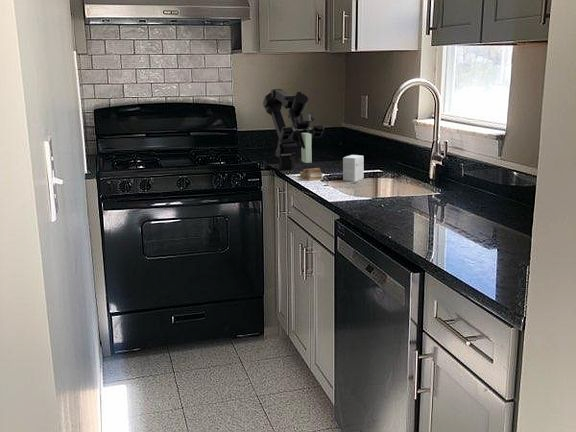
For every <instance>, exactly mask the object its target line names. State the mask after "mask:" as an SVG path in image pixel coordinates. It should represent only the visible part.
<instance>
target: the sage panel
mask: <svg viewBox="0 0 576 432" xmlns="http://www.w3.org/2000/svg"><path fill="white" fill-rule="evenodd" d="M301 137H302V140H303V142H304V145H305V149H303V148H302V147H301V146H300V148H301V149H300V151H301V152H300V153H301V162H302V163H305V164H309V163H310V164H312V162H313V161H312V160H313V159H312V157H313V156H312V144H313V143H312V142H313V140H312V141H311V134H310V133H301Z"/></svg>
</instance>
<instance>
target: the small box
mask: <svg viewBox="0 0 576 432" xmlns="http://www.w3.org/2000/svg"><path fill="white" fill-rule="evenodd" d="M364 160H365V159H364V155H359V154H350V155H346V156H344V157H342V179H343V181H346V182H347V181H349V182H352V184H356V183H358V181H360V180H362V179H364V176H365V175H364V171H365V170H364V166H365V165H364ZM356 181H357V182H356Z"/></svg>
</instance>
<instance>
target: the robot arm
mask: <svg viewBox="0 0 576 432" xmlns="http://www.w3.org/2000/svg"><path fill="white" fill-rule="evenodd" d="M308 101H309V97H308V96H307V95H306V94H305V93H302V91H296V93H295V94H289V93H288V92H286V91H284V90H283V88H282V89H281V88H275V89H271V90H270V92H269V93H268V94H267V95H265V96H264V98H263V101H262V102H263V105H262V106H263V108H264V109H265V112H266V113H267V114H269V116H271V119H272V122H273V124H274V128H275V130H276V133H277V137H278V143H277V148H276V149H275V156H276V158H278V168H277V171H290V170H292V171H294V170H296V169H297V168H296V166H295V165H296V163H295V158H294V157H297V155H298V146H300V148H301V147H302V148H303V149H305V145H304V142H303V140H302V137H301V133H310V134H311V141H312V142H313V139H314V138H315V139H317V138H321V137H322V136H323V133H324V132H325V126H324V125H323V124H314V125H313V128H309V127H310V123H312V122H314V121H315V114H314V113H313V112H310V113H305V114H303V112H304V111H305V110H306V107H307V104H308ZM282 107H283V108H284V109H285V110H288V109H289V110H288V113H287V115H288V116H287V117H288V119H290V122H291V124H290V125H291V126H286V123H285V120H284V119H285V118H284V117H283V115H282V111H281V110H282Z"/></svg>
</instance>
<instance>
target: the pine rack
mask: <svg viewBox="0 0 576 432" xmlns="http://www.w3.org/2000/svg"><path fill="white" fill-rule="evenodd" d="M297 177H299V178H300V179H303V180H305V181H307V182H311V181H312V182H313V181H322V180H324V178H323V172H322V169H320V167H315V168H305V169H304V168H303V170H302V171H300V172H299V175H297Z"/></svg>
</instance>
